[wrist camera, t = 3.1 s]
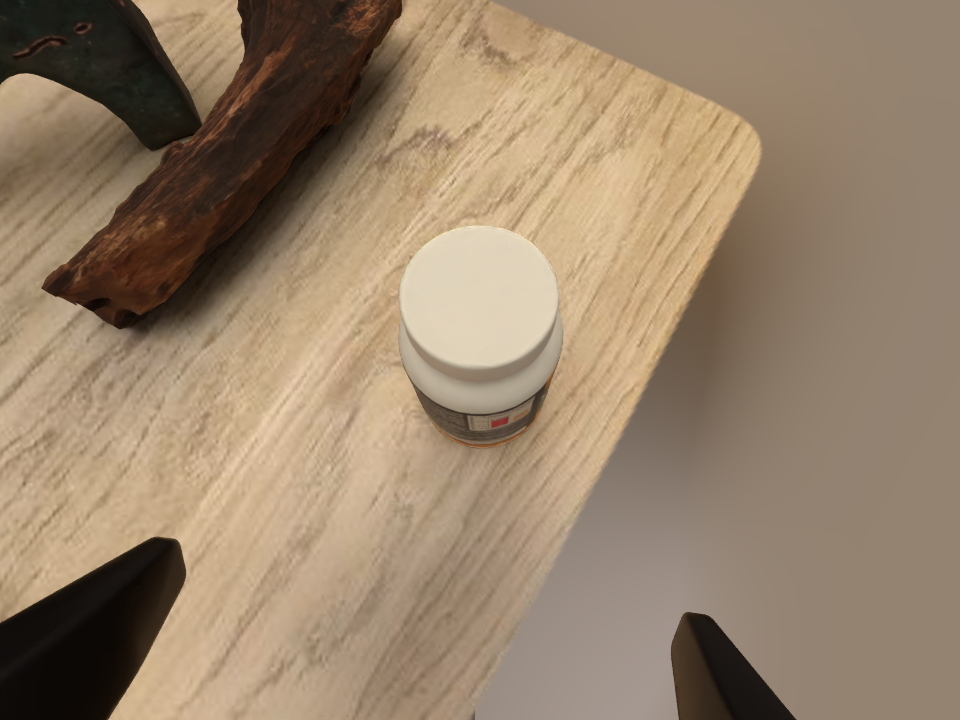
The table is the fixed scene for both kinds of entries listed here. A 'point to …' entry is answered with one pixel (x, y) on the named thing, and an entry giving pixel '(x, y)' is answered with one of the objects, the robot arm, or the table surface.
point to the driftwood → (229, 153)
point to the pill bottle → (480, 332)
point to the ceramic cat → (100, 61)
